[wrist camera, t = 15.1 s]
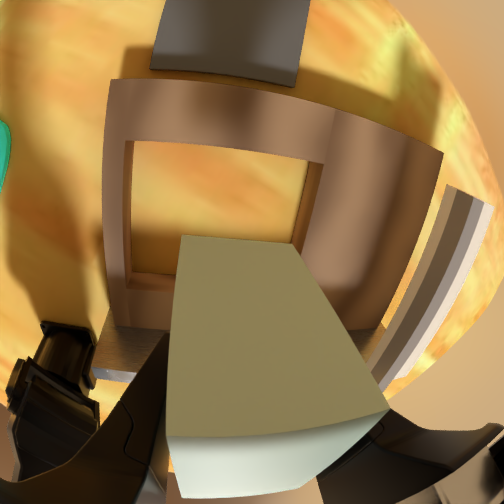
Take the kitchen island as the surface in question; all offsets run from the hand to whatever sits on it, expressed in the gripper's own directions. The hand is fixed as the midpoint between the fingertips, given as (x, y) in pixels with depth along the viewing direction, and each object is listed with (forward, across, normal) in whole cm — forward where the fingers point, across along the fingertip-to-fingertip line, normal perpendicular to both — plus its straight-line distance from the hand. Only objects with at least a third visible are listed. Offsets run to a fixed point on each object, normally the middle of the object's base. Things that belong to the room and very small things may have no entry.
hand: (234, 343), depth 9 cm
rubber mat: (+13, +1, -15) cm, 20 cm away
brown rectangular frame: (+13, -5, 0) cm, 14 cm away
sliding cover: (+5, -16, +2) cm, 17 cm away
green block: (+2, 0, 0) cm, 2 cm away
